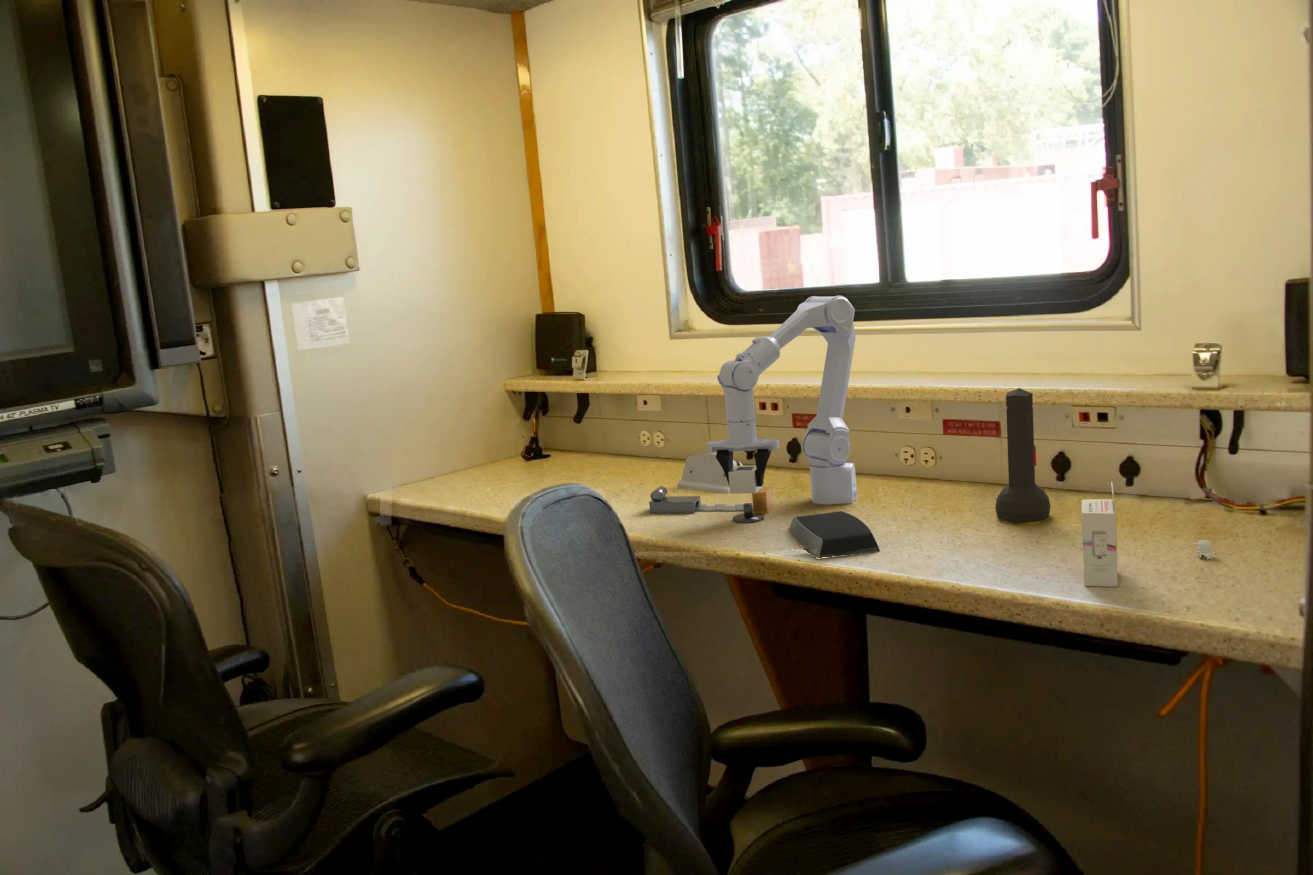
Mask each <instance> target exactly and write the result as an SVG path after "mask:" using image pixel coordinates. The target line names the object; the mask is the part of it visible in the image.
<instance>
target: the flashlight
mask: <svg viewBox="0 0 1313 875" xmlns="http://www.w3.org/2000/svg"><path fill="white" fill-rule="evenodd" d="M1033 395H1034V394H1033V393H1032V392H1030V391H1028V390H1025V389H1023V388H1019V387H1018V388H1015V389H1012V390H1011V391H1008V392H1006V394H1005V407H1006V435H1007V465H1008V469H1007V470H1008V473H1007V474H1008V484H1006V485H1005V486H1004V487H1002V489H1001V491H1000V493H999V494H998V496H997V497H996V499H995V500H996V501H995V508H994V509H995V513H996V517H997V518H998V519H999V520H1000V521H1003V522H1006V523H1011V524H1031V523H1037V522H1045V521H1046V519H1047V520H1048V519H1049V517H1050V512H1051V508H1052V506H1051V502H1050V498H1049V495H1048V494H1047V492H1046V490H1045V489H1044V488H1042V487H1041V486H1039V485H1038V484H1036V474H1035V473H1036V468H1035V467H1036V466H1037V450H1036V446H1035V436H1034V434H1035V433H1034V431H1035V430H1034V429H1035V428H1034V407H1033V404H1034V403H1033Z"/></svg>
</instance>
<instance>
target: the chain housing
mask: <svg viewBox="0 0 1313 875" xmlns="http://www.w3.org/2000/svg"><path fill="white" fill-rule="evenodd" d="M667 495H668V489H667V487H665V486H663V485H660V486H659V487H656V489H654V490H653V491H652V492H651V493H650V495H649V496H650V501H649V502H648V504H649V513H650V515H651V514H659V515H660V514H661V515H664V514H665V515H666V514H671V515H673V514H675V515H676V514H677V515H678V514H679V515H680V514H683V515H685V514H689V515H690V514H694V515H695V514H696V512H697V511H696V506H695V505H696V504H702V503H701V496H700V495H694V496H693V495H687V496H686V495H685V496H684V495H683V496H681V495H680V496H679V495H677V496H675V495H674V496H667Z"/></svg>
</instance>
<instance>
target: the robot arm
mask: <svg viewBox="0 0 1313 875" xmlns="http://www.w3.org/2000/svg"><path fill="white" fill-rule="evenodd" d="M796 308H797V309H796V310H795V311H794V312H793V313H792V314H791V315H790V316H789V317H788V318H787V319H785V321H784V322H783V323H781V325H780V326H779V327H777V328H776V330H775V331H773V333H772V334H771V335H769V336H763V335H762V336H759V337H755V338H752V340H751V342H752V343H751V345H749V346H748V347H747V348H746V349H745V350H743V351H742V352H738V353H737V354H736V355H735V359H731V360H728V361H725V363H723V364H722V366H721V367H720V370H719V374H718V375H716V377H717V382H718V384H719V385H720V386H721V387H722V389H723V395H724V401H725V402H724V403H725V415H726V428H727V439H725V440H724V439H723V440H717V441H715V440H711V441H708V442H707V443H706V448H707V453H714V452H715V453H716V454H717V455H716V459H717V460H718V462H719V463H720V465H721V467H722V469H723V471H724V473H725V475H726V478H727V481H728V485H729V474H728V472H729V471H730V470H731V469H732V468H733V459H734V452H751V451H752V452H753V451H754V454H753V456H754V461H755V465H756V469H757V484H758V487H761V486H762V487H763V485H764V478H765V473H766V468H767V465H768V462H769V459H770V457H771V453H772V452H778V451H779V450H780V440H779V439H766V438H757V427H756V426H757V425H756V415H755V414H756V413H755V400H754V399H755V398H754V388H755V387H756V385H757V383H758V380H759V376H760V375H761V374H763V373H764V372H765V371H766V370H767V369H768V368H770V367H771V365H772V364H774V363H775V362H776V361H778V359H779V358H780V356H781V350H782V349H783V348H784V347H785V346H786V345H788V344H789V343H790V342H792V341H793V340H794V339H796V338H797V337H799V336H800V335H801V334H802V333H803V332H804V331H807V329H809V328H810V329H811V328H812V329H813V330H815V331H816V332H818V333H819V334H821V336H822V337H823V339H824V340H825V341H826V342H827V347H826V353H825V355H826V356H825V359H824V360H825V361H824V366H823V372H822V379H821V385H820V392H819V398H818V405H817V410H816V415H815V417H814V418H813V419H812V420H810V422H808V424H807V430H806V433H805V434H804V436H803V438H802V440H801V445H800V447H801V451H802V453H803V455H804V456H805V457H806V458H807V462H808V463H809V474H810V476H809V477H810V489H811V490H810V491H811V501H812V503H813V504H816V505H817V504H818V505H835V504H836V505H839V504H840V505H841V504H842V505H843V504H854V503H855V500H856V499H857V497H858V491H857V476H856V475H857V474H856V473H857V472H856V468H855V467H856V466H855V463H854V462H846V460H847V459H848V458H849V456H850V454H851V442H850V429H849V427H848V426H847V424H846V422H844V420H843V418H844V412H845V407H846V400H847V395H848V394H847V393H848V387H849V382H850V375H851V368H852V363H853V357H854V356H853V355H854V349H855V343H856V332H855V325H854V318H855V311H856V309H855V308H854V306H853V305H852V303H851V302H850V301H849V300H848V298H847V297H845V296H843V295H835V296H817V295H813V296H809V297H807V299H805V301H804V302H801V303H800V304H798V306H797V307H796ZM755 451H756V452H755ZM729 487H730V486H729Z"/></svg>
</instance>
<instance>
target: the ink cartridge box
mask: <svg viewBox="0 0 1313 875" xmlns="http://www.w3.org/2000/svg"><path fill="white" fill-rule="evenodd" d="M1113 482H1114V481H1112V480H1111V482H1110V483H1111V484H1110V485H1111V494H1112V499H1108V498H1105V499H1104V498H1103V499H1100V498H1099V499H1089V498H1088V499H1081V502H1080V503H1081V504H1080V505H1081V506H1080V521H1081V540H1082V556H1083V558H1082V559H1083V579H1084V580H1083V581H1084V583H1083V584H1084V587H1109V588H1112V587H1113V588H1115V587H1118V530H1117V528H1118V527H1117V510H1116V502H1115V491H1114V484H1113Z"/></svg>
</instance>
